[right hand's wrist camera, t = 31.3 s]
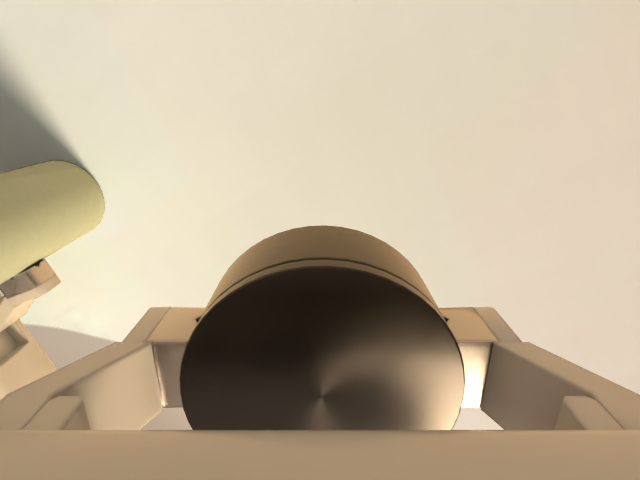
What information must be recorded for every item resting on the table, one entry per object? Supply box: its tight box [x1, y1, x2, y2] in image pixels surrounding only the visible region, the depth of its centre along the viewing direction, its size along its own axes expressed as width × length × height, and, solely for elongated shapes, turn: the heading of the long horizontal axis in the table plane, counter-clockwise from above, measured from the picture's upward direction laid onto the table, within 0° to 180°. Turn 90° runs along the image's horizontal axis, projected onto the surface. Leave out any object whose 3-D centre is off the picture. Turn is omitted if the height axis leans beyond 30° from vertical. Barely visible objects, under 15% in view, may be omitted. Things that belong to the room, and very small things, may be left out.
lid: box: [179, 226, 465, 430], centre depth 9 cm, size 6×6×2 cm
